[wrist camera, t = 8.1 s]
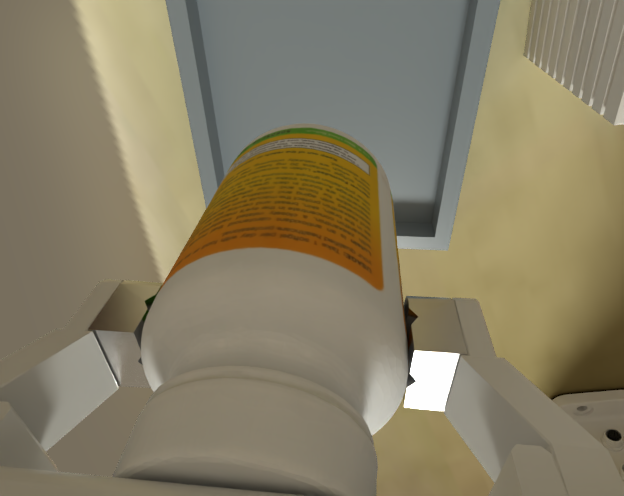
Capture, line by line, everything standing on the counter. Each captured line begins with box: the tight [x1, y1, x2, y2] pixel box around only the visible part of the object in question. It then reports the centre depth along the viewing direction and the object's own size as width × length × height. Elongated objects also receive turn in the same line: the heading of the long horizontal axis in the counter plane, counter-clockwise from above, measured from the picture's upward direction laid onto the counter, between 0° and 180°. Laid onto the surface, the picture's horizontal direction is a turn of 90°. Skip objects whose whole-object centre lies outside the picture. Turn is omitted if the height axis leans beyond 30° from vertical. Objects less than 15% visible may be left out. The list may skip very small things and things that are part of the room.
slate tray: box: [166, 0, 500, 250], centre depth 24 cm, size 20×16×2 cm
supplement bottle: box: [113, 123, 408, 496], centre depth 10 cm, size 5×5×10 cm
